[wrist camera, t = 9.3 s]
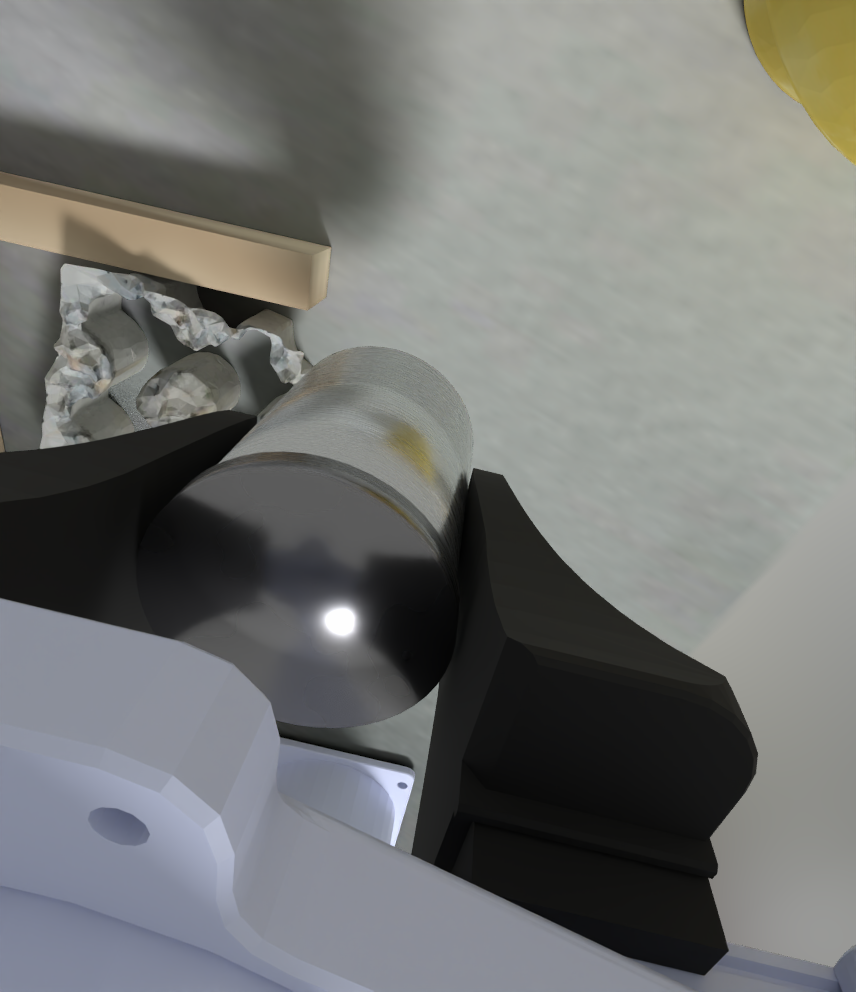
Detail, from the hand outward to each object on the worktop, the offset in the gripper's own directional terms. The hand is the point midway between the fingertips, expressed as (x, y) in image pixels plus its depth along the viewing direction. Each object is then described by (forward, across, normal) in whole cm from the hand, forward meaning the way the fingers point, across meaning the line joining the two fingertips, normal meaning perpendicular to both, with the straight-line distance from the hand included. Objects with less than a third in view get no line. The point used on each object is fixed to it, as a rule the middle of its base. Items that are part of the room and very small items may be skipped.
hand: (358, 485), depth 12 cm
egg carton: (+9, +8, +4) cm, 12 cm away
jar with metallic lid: (+2, 0, 0) cm, 2 cm away
